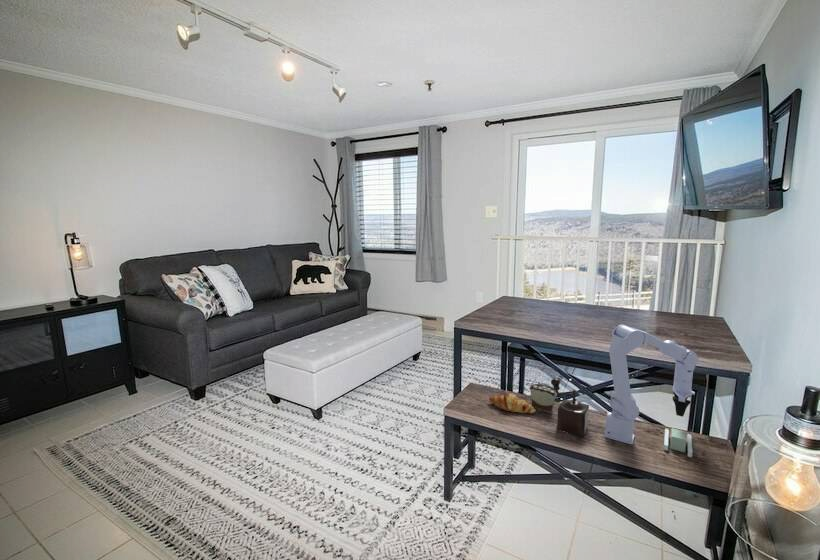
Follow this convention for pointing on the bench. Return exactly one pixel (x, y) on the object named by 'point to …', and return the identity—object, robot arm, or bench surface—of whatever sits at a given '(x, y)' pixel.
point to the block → (678, 440)
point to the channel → (688, 441)
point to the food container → (543, 397)
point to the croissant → (512, 403)
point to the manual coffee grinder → (571, 413)
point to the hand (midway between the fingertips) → (679, 412)
